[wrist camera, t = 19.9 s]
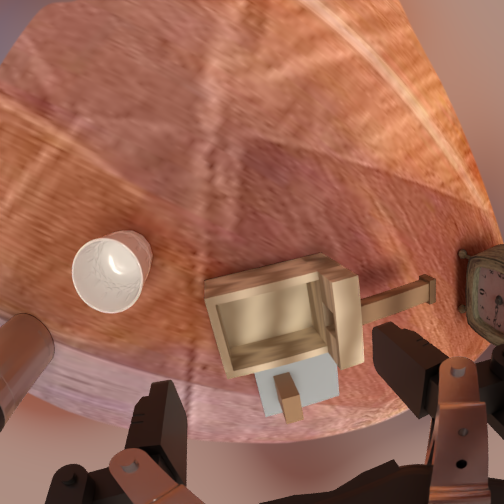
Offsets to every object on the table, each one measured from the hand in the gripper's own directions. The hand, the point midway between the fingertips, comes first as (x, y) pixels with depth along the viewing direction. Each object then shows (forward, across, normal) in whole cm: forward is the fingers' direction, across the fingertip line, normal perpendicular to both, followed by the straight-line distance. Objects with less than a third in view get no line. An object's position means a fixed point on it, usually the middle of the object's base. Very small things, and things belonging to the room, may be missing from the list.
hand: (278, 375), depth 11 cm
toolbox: (+30, -4, +10) cm, 32 cm away
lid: (+31, -6, +24) cm, 39 cm away
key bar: (+22, -18, +10) cm, 30 cm away
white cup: (+30, +13, -1) cm, 33 cm away
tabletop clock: (+30, -41, +16) cm, 53 cm away
